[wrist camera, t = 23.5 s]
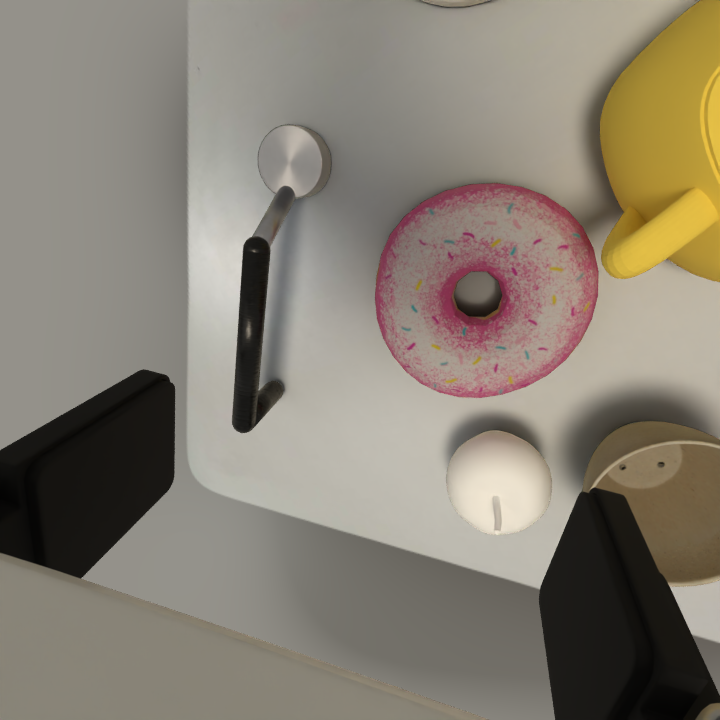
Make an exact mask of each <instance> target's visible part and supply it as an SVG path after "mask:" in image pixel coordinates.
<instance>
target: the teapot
mask: <svg viewBox="0 0 720 720" xmlns="http://www.w3.org/2000/svg"><path fill="white" fill-rule="evenodd" d="M600 141H601V149H602V155H603V160H604V164H605V168H606V172H607V175H608V178H609V181H610V184H611V187H612V190H613V192H614V194H615V196H616V198H617V201H618V203H619V205H620V206H621V208H622V210H623V211H624V213H623V215H622V216H621V217H620V219H619V220H618V222H617V223H616V225H615V226H614V228H613V229H612V231H611V233H610V234H609V236H608V237H607V239H606V241H605V243H604V246H603V249H602V255H601V260H602V264H603V266H604V268H605V270H606V271H607V272H608V273H609V274H610V275H611V276H613V277H615V278H620V279H627V278H631V277H635V276H637V275H639V274H641V273H643V272H645V271H647V270H649V269H651V268H653V267H654V266H656V265H657V264H659V263H661V262H662V261H664V260H665V259H669V260H670V261H671V262H673V263H674V264H676V265H677V266H679V267H681V268H683V269H685V270H687V271H688V272H690V273H692V274H695V275H697V276H700V277H703V278H706V279H709V280H712V281H717V282H720V0H700V1H699V2H698V3H696V4H695V5H694V6H692V7H691V8H690V9H688V10H687V11H686V12H684V13H683V14H682V15H681V16H679V17H678V18H677V19H676V20H675V21H674V22H673V23H671V24H670V25H669V26H668V27H667V28H666V29H665V30H663V31H662V32H661V33H660V34H659V35H658V36H657V37H656V38H655V39H654V40H653V41H652V42H651V43H650V44H649V45H648V46H647V47H646V48H645V49H644V50H643V51H642V52H641V53H640V54H639V55H638V56H637V57H636V58H635V59H634V60H633V61H632V62H631V64H630V65H629V66H628V67H627V68H626V69H625V70H624V71H623V72H622V73H621V75H620V76H619V78H618V79H617V81H616V82H615V84H614V85H613V87H612V88H611V90H610V92H609V94H608V96H607V99H606V101H605V103H604V107H603V111H602V115H601V119H600Z"/></svg>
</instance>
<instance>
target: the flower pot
mask: <svg viewBox="0 0 720 720" xmlns="http://www.w3.org/2000/svg"><path fill="white" fill-rule="evenodd" d="M659 462H663V463H659ZM622 467H626V468H625V469H623V470H622ZM594 487H596V488H599V489H603V490H607V491H611V492H615V493H618V494H622V495H624V496H625V498H626V499H627V501H628V504H629V506H630V508H631V510H632V513H633V515H634V517H635V519H636V521H637V524H638V526H639V528H640V530H641V532H642V535H643V537H644V539H645V541H646V543H647V546H648V548H649V550H650V552H651V554H652V557H653V559H654V561H655V563H656V566H657V568H658V570H659V572H660V573H661V574H663V576H664V577H665V579H666V580H667V582H668V584H669V586H672V587H674V586H675V587H684V586H697V585H703V584H708V583H712V582H715V581H719V580H720V440H719V439H717V438H715V437H713V436H711V435H709V434H707V433H704V432H701V431H699V430H696V429H693V428H690V427H686V426H682V425H678V424H673V423H667V422H659V421H644V422H636V423H631V424H628V425H625V426H622V427H620V428H618V429H616V430H615V431H613V432H612V433H611V434H609V435H608V436H607V437H606V438H605V439H604V440H603V441H602V442H601V443H600V444H599V446H598V447H597V448H596V450H595V452H594V453H593V455H592V457H591V459H590V461H589V464H588V467H587V470H586V473H585V477H584V482H583V489H582V492H583V491H584V492H587V493H589V491H590V490H591V489H592V488H594Z"/></svg>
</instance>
